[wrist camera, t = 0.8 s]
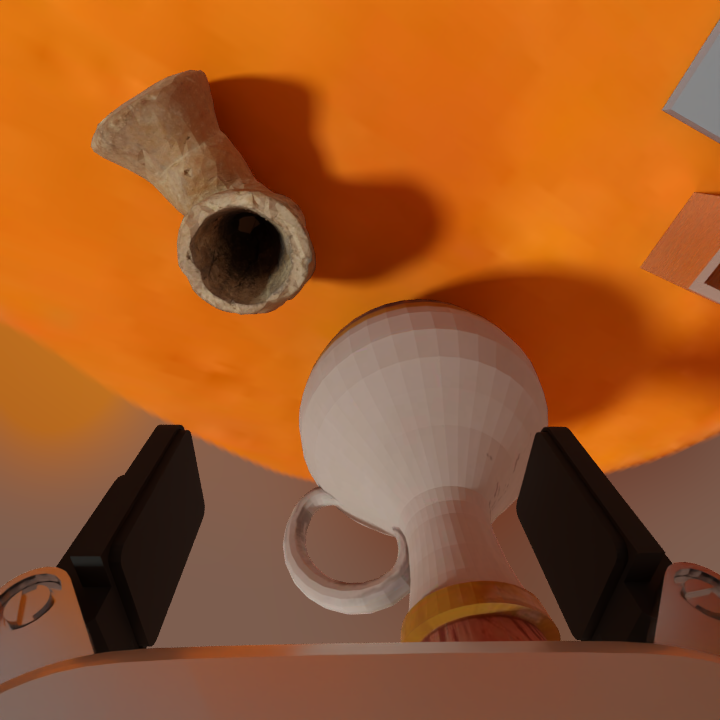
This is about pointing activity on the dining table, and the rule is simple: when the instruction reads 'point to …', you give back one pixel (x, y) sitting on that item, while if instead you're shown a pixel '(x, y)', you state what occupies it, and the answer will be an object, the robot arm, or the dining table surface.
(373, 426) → the jug
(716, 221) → the collar
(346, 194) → the dining table surface
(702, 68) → the flange
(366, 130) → the dining table surface
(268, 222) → the pipe
